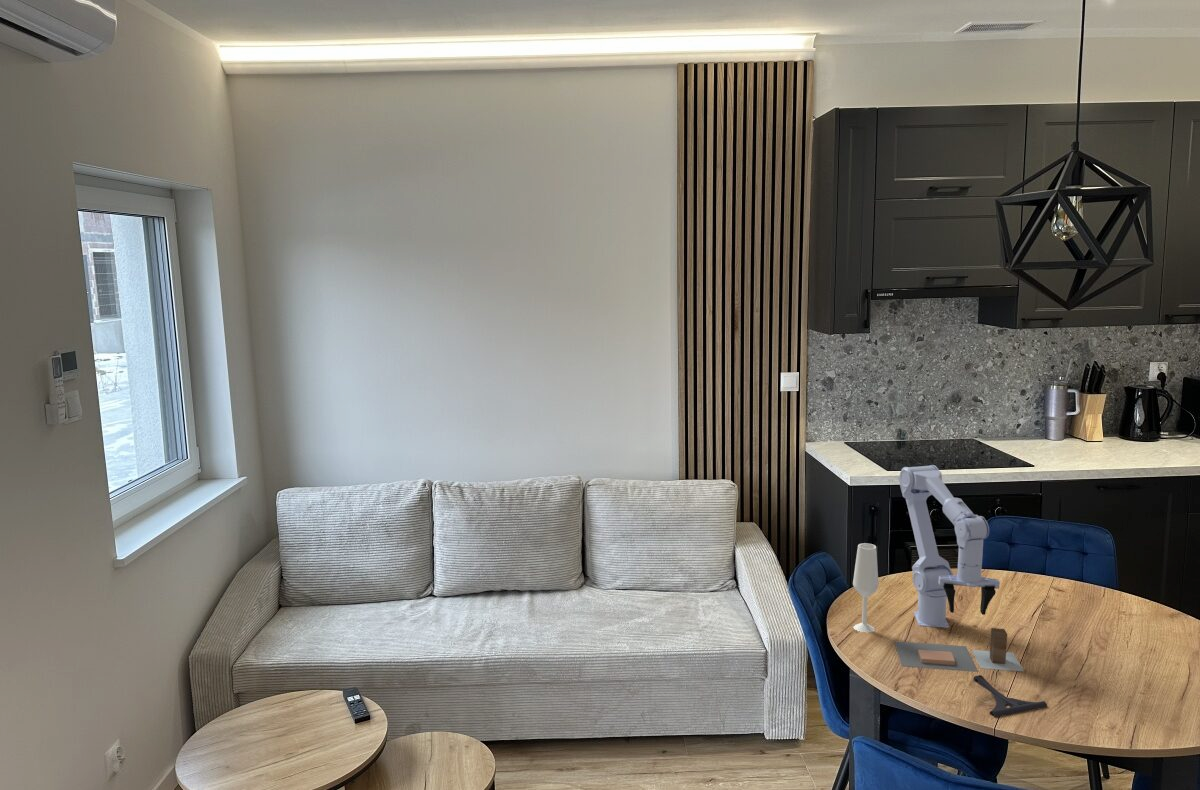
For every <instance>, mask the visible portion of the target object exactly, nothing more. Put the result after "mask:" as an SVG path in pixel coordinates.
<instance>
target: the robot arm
mask: <svg viewBox="0 0 1200 790" xmlns="http://www.w3.org/2000/svg"><path fill="white" fill-rule="evenodd" d="M942 475H943V474H942V471H940V469H939V468H938V466H936V465H934V464H930V465H921V466H909V467H908V466H904V467H902V468H901V471H900V473H899V476H898V482H899V486H900V490H901V494H902V497H903V498H904V499H905V502H906V505H907V509H908V515H909V518H910V523H911V528H912V531H913V535H914V540H915V544H916V549H917V553H918V558H919V559H917V560H916V562H915V563H914V564H913V565H912V567H911V569H912V583H913V585H914V588H915V589H916V591H918V593H917V596H918V597H917V608H916V609H917V610H914V611H913V615H914V617H915V619H916V622H917V625H918V626H919V627H931V628H945V629H948V628H950V624H949V623H948V621H947V617H946V615H947V603H948V609H949V612H950V613H952V614H953V613H955V612H954V611H955V597H956V596H955V595H956V590H955V586H957V587H958V586H960V587H961V586H962V587H969V588H977V587H979V588H981V591H980V592H981V593H980V595H981V597H980V598H981V599H980V607H979V608H980V610H979V611H980V613H981V615H983V616H985V615H986V613H987V612H986V611H987V608H988V606H989V604H990V602H991V600H992V599H993V598H994V597H995V595H996V590H999V589H1000V583H1001V581H1000V580H999V579H998V578H991V577H985V576H984V577H983V576H982V569H983V568H982V567H983V551H984V540H986V539H987V538H988V537H989V535H990V526H989V525H990V524H988V521H987V520H986V518H985V517H984V516H982V515H978V514H974V513H973V511H972V510H971V509H970V508H969V507H968V506H967V504H966V503H965V502H964V501H963V500H962V498H959V497H954V495H953V494H952V492H950V490H949V488H948V487H947V486H946V484H945V483H944V481H943V476H942ZM930 496H933V497H934V498H935V500H937V501H938V502H939V503H940V504H941V505H942V513H943V514H944V515H945V517H946V518H947V519H948V520H949V521H950V522H951V523H952V525H953V526H954V532H955V537H956V544H957V545H958V556H957V557H958V558H957V569H956V570H957V574H954V572H953V571H952V569H951V566H950V563H949V561H947V560H946V559H945V558H944V557H942V556H940V555H939V549H938V547H937V542H936V539H935V534H934V531H933V525H932V521H931V517H930V513H929V509H928V504H927V500H928V498H929V497H930Z"/></svg>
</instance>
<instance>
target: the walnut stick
mask: <svg viewBox="0 0 1200 790" xmlns="http://www.w3.org/2000/svg"><path fill="white" fill-rule="evenodd" d="M990 631H991V633H990V642H989V643H990V647H989V651H990V659H991V661H992V663H998V664H1005V662H1006V652H1007V645H1008V644H1007V643H1008V633H1007V631H1006V629H1004V628H999V627H998V628H997V627H995V628H993V627H991V629H990Z"/></svg>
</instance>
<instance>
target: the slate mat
mask: <svg viewBox="0 0 1200 790" xmlns="http://www.w3.org/2000/svg"><path fill="white" fill-rule="evenodd" d="M894 646H895V649H896V652H897V655H898V658H899V659H898V660H899V662H900V665H901V667H909V668H922V669H937V670H949V671H963V672H976V673H978V672H979V670H978V669H977V668H978V667H977V666H976V664H975V662H974V660H973V658H972V656H971V653H970V652H969V650H968V647H967V646H966V645H956V644H955V645H952V644H942V643H941V644H938V643H928V642H927V643H925V642H911V641H910V642H909V641H899V640H898V641H897V640H896V641H895V640H894ZM918 650H931V651H945V652H951V653H952V655H953V657H954V660H955V665H944V664H930V663H921V661H920V658H919V655H918Z"/></svg>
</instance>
